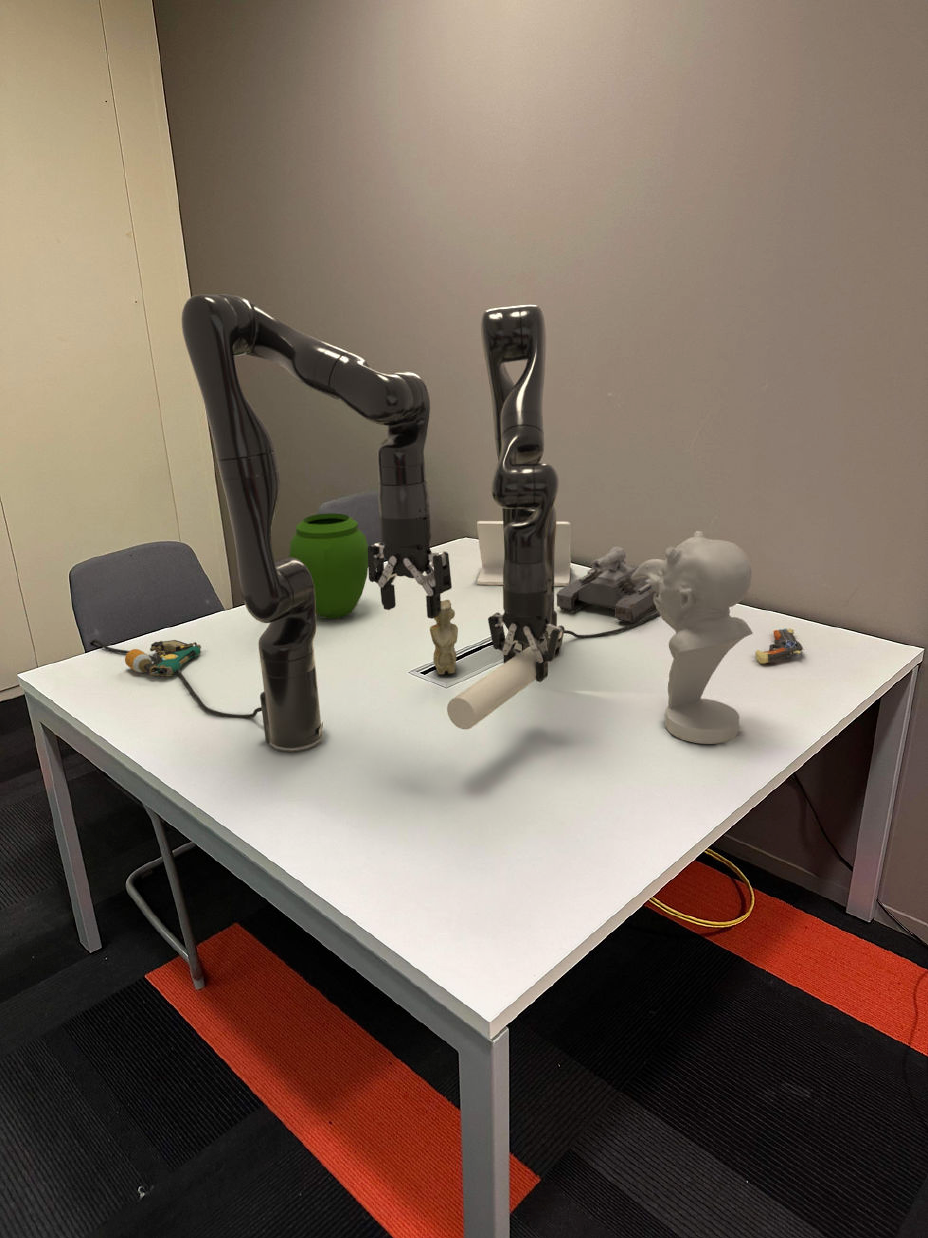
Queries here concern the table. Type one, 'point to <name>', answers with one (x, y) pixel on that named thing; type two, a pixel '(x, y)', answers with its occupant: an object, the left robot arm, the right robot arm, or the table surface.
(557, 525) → the tablet stand
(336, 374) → the left robot arm
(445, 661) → the sculpture
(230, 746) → the table surface
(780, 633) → the toy gun
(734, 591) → the bust sculpture
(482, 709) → the rod
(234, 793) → the table surface
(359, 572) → the vase
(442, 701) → the table surface
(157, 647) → the spray gun
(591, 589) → the toy
